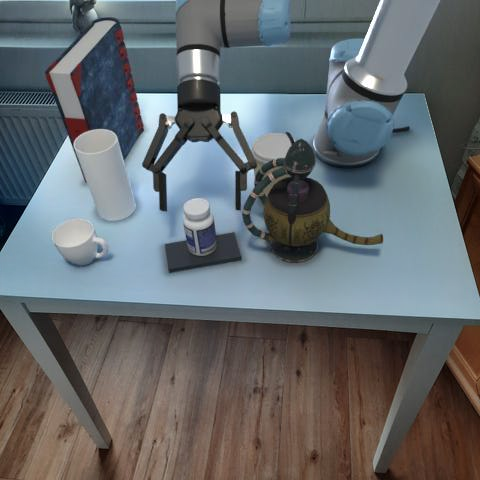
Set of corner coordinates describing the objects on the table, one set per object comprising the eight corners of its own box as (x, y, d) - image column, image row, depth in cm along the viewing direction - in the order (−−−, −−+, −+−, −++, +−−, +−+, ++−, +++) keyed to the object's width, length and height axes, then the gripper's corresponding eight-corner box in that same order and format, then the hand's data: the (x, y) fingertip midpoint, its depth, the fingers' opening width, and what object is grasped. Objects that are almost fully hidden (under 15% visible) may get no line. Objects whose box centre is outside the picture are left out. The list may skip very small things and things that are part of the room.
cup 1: (141, 198, 103) (124, 131, 90) (126, 223, 98) (105, 156, 85) (107, 193, 104) (85, 126, 91) (91, 217, 99) (65, 150, 87)
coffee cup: (303, 202, 99) (307, 151, 90) (262, 214, 98) (262, 164, 88) (285, 177, 105) (287, 127, 95) (246, 188, 103) (244, 138, 94)
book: (123, 123, 121) (95, 15, 102) (148, 125, 120) (125, 16, 100) (83, 183, 107) (41, 71, 87) (111, 186, 106) (75, 73, 86)
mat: (234, 235, 94) (234, 231, 94) (241, 260, 90) (241, 256, 89) (165, 247, 93) (164, 243, 92) (169, 272, 89) (168, 269, 88)
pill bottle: (219, 237, 93) (214, 196, 85) (214, 258, 89) (209, 217, 81) (190, 235, 93) (183, 195, 85) (185, 256, 90) (177, 216, 82)
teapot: (257, 219, 97) (254, 112, 78) (380, 237, 92) (409, 127, 74) (242, 261, 90) (236, 154, 71) (375, 282, 85) (405, 174, 67)
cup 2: (74, 241, 95) (63, 216, 90) (120, 248, 94) (111, 222, 88) (57, 269, 91) (44, 244, 85) (105, 276, 89) (94, 251, 84)
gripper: (270, 90, 84) (270, 211, 87) (134, 94, 86) (138, 212, 89) (270, 74, 77) (269, 207, 80) (121, 79, 79) (126, 208, 82)
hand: (200, 210), depth 85 cm, fingers open, 13 cm apart
